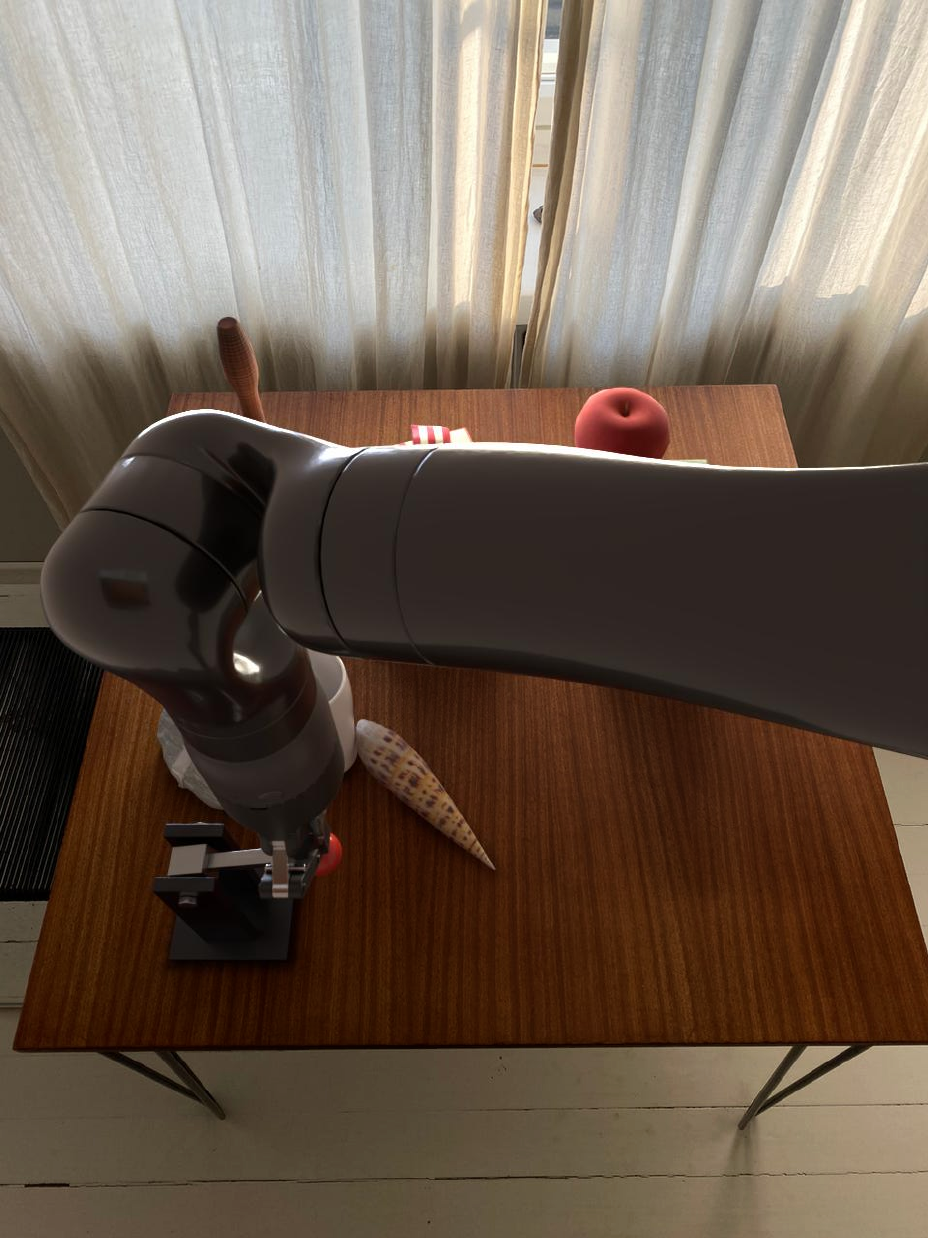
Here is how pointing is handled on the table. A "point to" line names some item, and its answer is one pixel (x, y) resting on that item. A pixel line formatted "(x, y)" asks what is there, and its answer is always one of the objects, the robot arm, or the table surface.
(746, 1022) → the table surface
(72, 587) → the robot arm
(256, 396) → the handbell
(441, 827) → the seashell
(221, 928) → the bracket
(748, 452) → the table surface
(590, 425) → the apple
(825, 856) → the table surface
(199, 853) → the lever
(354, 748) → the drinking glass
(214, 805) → the decorative stone
